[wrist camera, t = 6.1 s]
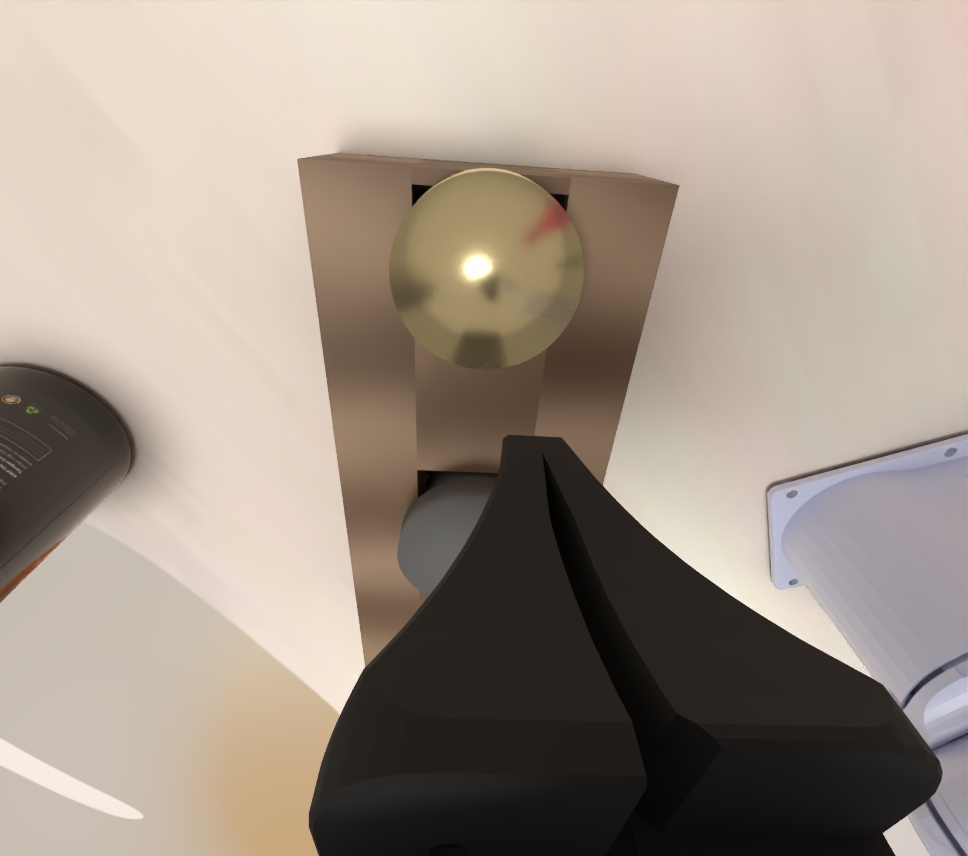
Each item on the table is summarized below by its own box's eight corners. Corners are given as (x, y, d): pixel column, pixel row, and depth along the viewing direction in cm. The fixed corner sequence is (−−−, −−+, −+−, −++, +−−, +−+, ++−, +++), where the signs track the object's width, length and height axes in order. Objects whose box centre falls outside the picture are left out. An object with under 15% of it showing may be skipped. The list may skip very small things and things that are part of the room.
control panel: (336, 152, 15) (297, 158, 12) (635, 174, 16) (679, 185, 12) (379, 612, 28) (366, 677, 25) (543, 615, 29) (552, 680, 25)
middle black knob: (411, 422, 19) (393, 500, 15) (536, 428, 19) (552, 506, 15) (413, 515, 22) (399, 602, 18) (522, 519, 22) (533, 606, 18)
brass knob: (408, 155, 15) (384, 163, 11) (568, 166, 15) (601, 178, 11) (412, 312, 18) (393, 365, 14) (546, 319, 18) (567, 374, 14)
